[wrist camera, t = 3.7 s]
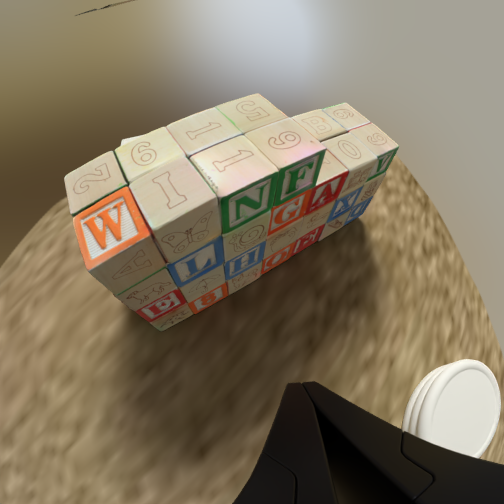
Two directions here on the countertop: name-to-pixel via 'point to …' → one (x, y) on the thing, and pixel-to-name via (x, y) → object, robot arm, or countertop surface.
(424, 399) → the white ridged disc
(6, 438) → the countertop surface
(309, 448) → the robot arm
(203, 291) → the stack of blocks
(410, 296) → the countertop surface
